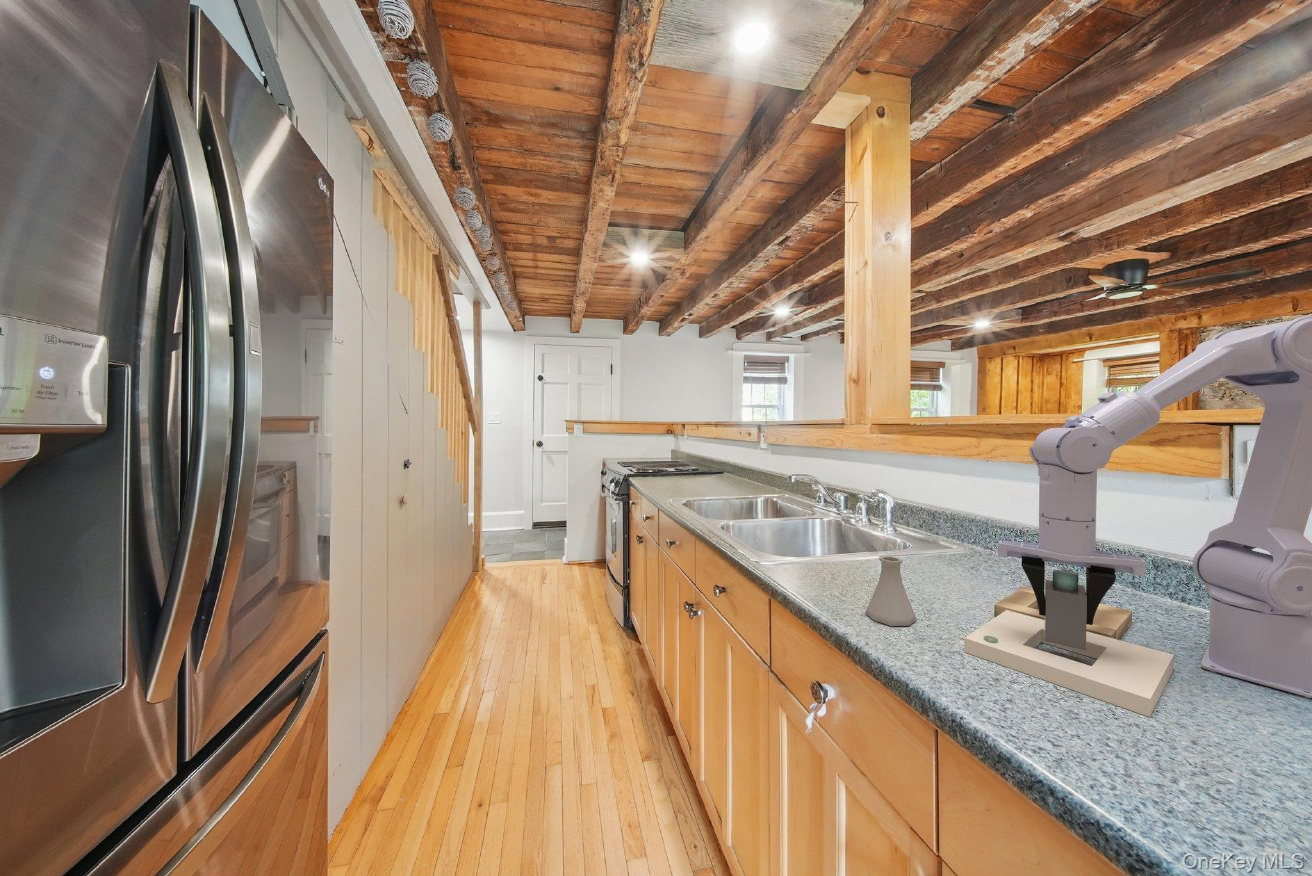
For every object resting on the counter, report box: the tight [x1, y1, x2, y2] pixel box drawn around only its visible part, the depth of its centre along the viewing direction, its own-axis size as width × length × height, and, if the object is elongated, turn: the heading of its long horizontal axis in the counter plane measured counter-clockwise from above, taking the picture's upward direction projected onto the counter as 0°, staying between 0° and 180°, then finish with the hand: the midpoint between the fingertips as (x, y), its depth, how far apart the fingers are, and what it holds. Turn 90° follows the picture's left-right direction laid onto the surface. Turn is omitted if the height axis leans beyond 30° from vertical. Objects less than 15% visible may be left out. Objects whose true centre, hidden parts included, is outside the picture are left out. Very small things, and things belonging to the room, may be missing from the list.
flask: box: [864, 555, 918, 627], centre depth 76 cm, size 7×7×10 cm
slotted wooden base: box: [993, 585, 1133, 640], centre depth 75 cm, size 14×14×2 cm
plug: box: [1044, 569, 1087, 650], centre depth 62 cm, size 4×5×9 cm
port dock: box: [963, 610, 1175, 718], centre depth 62 cm, size 18×16×2 cm
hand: (1064, 617), depth 62 cm, fingers closed on plug, 4 cm apart
